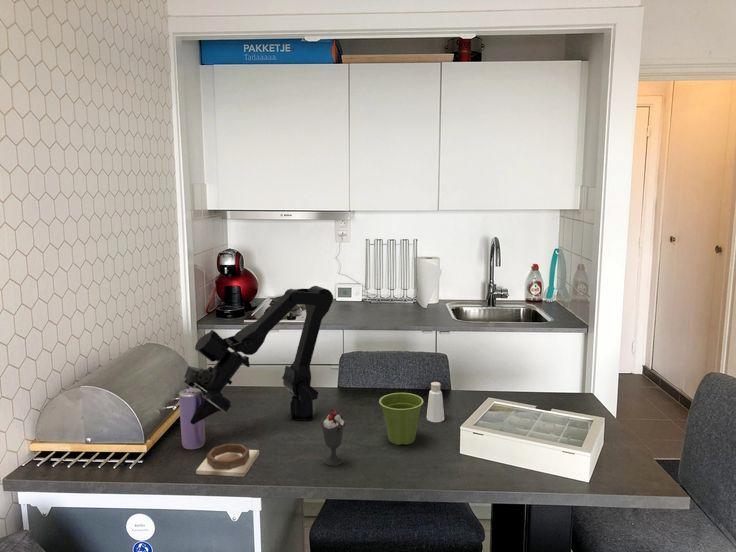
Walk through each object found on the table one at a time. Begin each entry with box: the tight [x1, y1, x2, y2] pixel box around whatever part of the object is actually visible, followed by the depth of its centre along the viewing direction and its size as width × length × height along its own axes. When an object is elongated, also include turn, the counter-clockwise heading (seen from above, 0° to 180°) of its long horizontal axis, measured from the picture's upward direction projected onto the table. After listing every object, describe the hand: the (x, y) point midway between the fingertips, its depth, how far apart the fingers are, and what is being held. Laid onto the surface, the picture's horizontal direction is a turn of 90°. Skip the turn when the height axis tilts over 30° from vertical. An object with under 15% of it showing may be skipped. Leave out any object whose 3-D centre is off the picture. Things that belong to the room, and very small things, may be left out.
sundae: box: [319, 407, 347, 467], centre depth 151 cm, size 7×7×15 cm
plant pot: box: [378, 392, 424, 446], centre depth 163 cm, size 12×12×11 cm
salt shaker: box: [426, 381, 445, 423], centre depth 176 cm, size 5×5×11 cm
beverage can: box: [178, 388, 206, 450], centre depth 161 cm, size 6×6×15 cm
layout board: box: [195, 443, 260, 478], centre depth 151 cm, size 12×12×3 cm
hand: (187, 419), depth 160 cm, fingers closed on beverage can, 6 cm apart
